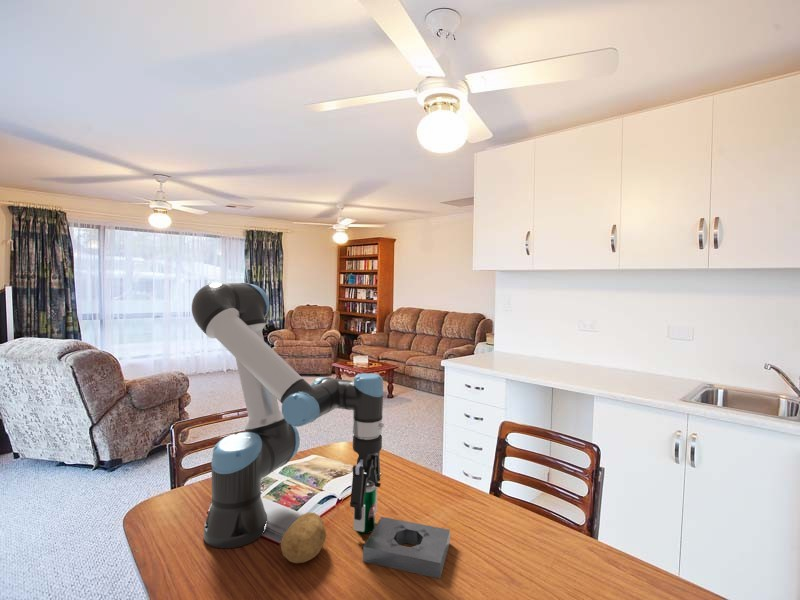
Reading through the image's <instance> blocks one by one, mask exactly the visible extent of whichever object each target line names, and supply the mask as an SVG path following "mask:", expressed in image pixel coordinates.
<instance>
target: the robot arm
mask: <svg viewBox="0 0 800 600" xmlns="http://www.w3.org/2000/svg"><path fill="white" fill-rule="evenodd" d="M269 312H270V301H269V297H268V295H267V293H266V292H265V291H264V289H262V288H261V287H259V286H258V285H256V284H252V283H247V282H241V283H239V282H238V283H237V282H235V283H234V282H233V283H230V282H227V283H225V282H223V283H222V282H213V283H208V284H207V285H204V286H202V287H201V288H200V289H198V291H197V292H196V293H195V294H194V296H193V299H192V303H191V315H192V318H193V320H194V321H195V323H196V325H197V326H198V327H199V329H200V330H201V331H202V332H203V333H204V334H205V335H206V336H207V337H208V338H211V339H216V340H217V341H219V343H220V344H221V345H223V347H224V348H225V349H226V350H227V351H228V352H229V353H230V354H231V355H232V356H234V358H235V361H236V367H237V371H238V376H239V380H240V384H241V389H242V393H243V399H244V402H245V408H246V412H247V417H248V421H247V423H246V425H245V426H244V431H243V432H238V433H233V434H229V435H227V436H225V437H223V438H221V439H220V440H219V441H218V442H217V443H216V444H215V446H214V447H213V450H212V458H211V462H210V465H211V506H210V508H209V511H208V514H207V517H206V519H205V522H204V525H203V539H204V542H205V543H206V544H207V545H209V546H211V547H213V548H216V549H233V548H239V547H242V546H246V545H249V544H251V543H253V542H255V541H257V540H258V539H259V538H261V537H262V536H263V535H262V533H263V531H264V526H265V524H266V521H267V522H268V514H267V512H266V510H265V506H264V502H263V500H262V496H261V493H262V491H261V489H262V488H261V487H262V479H264V478H265V477H267V476H268V475H270V474H271V473H273V472H274V471H276V470H278V469H279V468H281V467H283V466H286V464H287V463H289V462H290V461H291V460H292V459H293V458H294V457H295V456H296V455H297V453H298V451H299V447H300V445H301V444H300V441H301V440H300V439H301V438H300V433H299V430H298V429H297V427H302V426H306V425H308V424H311V423H313V422H315V421H316V420H317V419H319V418H320V417H322V416H324V415H327V414H328V413H329V412H332V411H334V410H335V409H340V410H346V411H353V412H352V415H353V416H352V417H353V418H352V420H353V421H352V434H353V435H352V450H353V451H354V452H355V453H357V455H358V457H357V460H356V464H354V465H352V479H351V480H352V481H351V482H352V483H351V491H350V493H351V494H350V502H349V506H350V508H353V531H357V532H358V531H361V532H364V531H365V505H364V499H365V493H366V486H367V480H370V481H373V482H374V484H375V487H376V507H375V514H376V513H377V512H378V511H377V510H378V509H377V507H378V506H377V504H378V488H381V485H382V484H381V482H380V481H381V468H380V467H381V465H380V463H381V461H380V451H382V449H383V448H382V447H383V435H382V434H383V428H384V426H385V424H384V423H383V412H384V411H383V408H384V406H383V405H384V393H385V392H384V379H383V377H382V376H381V375H380V374H377V373H358V374H356V375H355V376H354V377H353V379H354V380H348V379H341V378H334V377H330V376H327V377H317V378H315V379H314V381H313V382H311V384H310V383H309V382H308V381H306V380H305V379H304V378H303V377H302V376H301V375H300V374H299V373H298V372H297V371H296V370H295V369H294V368H293V367H292V366H291V365H290V364H289V363H287V362H286V361H285V359H284V358H282V357H281V356H280V355H279V354H278V353H277V352H276V351H275V350H274V349H273V348H272V347H271V346H270V345H269V344H268V343H267V342H265V338H264V335H263V329H264V328H265V327H266V325H267V323H266V317H267V316H268V313H269ZM279 402H280V403H281V409H280V406H279Z"/></svg>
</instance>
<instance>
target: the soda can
mask: <svg viewBox="0 0 800 600" xmlns="http://www.w3.org/2000/svg"><path fill="white" fill-rule="evenodd" d="M376 488H377V487H375V484H374V482H373V481H370V480H367V486H366V493H365V499H364V505H365V531H364V532H361V531H357V532H358V533H360V534H365V535H366V534H371V533H372V531H373V530H374V528H375V526H376V513H375V507H376Z"/></svg>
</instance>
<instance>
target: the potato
mask: <svg viewBox="0 0 800 600" xmlns="http://www.w3.org/2000/svg"><path fill="white" fill-rule="evenodd" d="M326 534H327V533H326V529H325V525H324V522H323V520H322V518H321V516H320V515H319V514H317V513H315V512H305V513H303V514H301V515H299V516H298V518H296V519H295V520H294V521H293V522H292V524H291V525H290V526H289V527H288V528H287V529H286V531H285V532H284V534H283V536H282V538H281V539H280V540H281V541H280V548H281V552H282V556H283V557H284V558H285V559H287V561H288V562H290V563H293V564H304V563H307V562H308V561H311V560H312V559H313V558H315V557H317V555H318V554H319V553H320V552H321V549H323V546H324V543H325V542H326V541H325V540H326V536H327V535H326Z"/></svg>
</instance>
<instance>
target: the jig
mask: <svg viewBox="0 0 800 600" xmlns="http://www.w3.org/2000/svg"><path fill="white" fill-rule="evenodd" d="M405 544H409V545H413V546H407V545H405ZM450 544H451V529H448V528H444V527H443V528H442V527H438V526H432V525H429V524H428V525H426V524H423V523H422V524H421V523H418V522H411V521H406V520H400V519H395V518H390V517H386V516H380V518H379V520H378V521H377V523H376V524H375V528H374V530H373V531H372V532H371V533H370V534H369V537H368V538H367V540H366V542H365V543H364V545H363V547H362V548H363V549H362V550H363V551H362V562H364V563H367V564H372V565H377V566H382V567H385V568H390V569H394V570H399V571H404V572H408V573H412V574H417V575H422V576H426V577H430V578H435V579H441V577H442V574H443V569H444V566H445V562H446V559H447V555H448V552H449V547H450Z"/></svg>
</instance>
